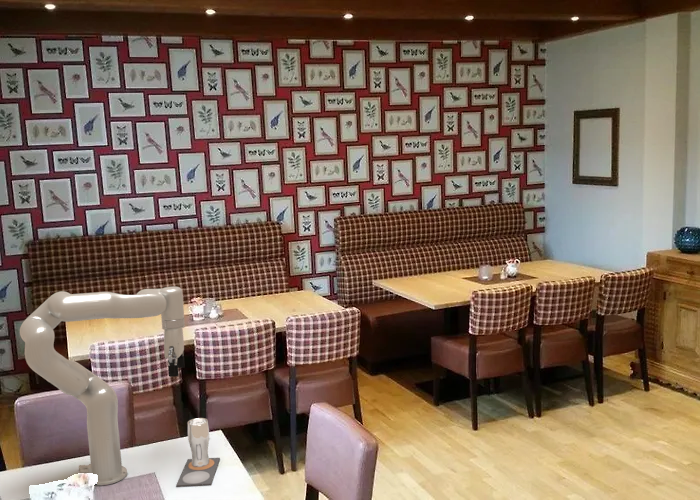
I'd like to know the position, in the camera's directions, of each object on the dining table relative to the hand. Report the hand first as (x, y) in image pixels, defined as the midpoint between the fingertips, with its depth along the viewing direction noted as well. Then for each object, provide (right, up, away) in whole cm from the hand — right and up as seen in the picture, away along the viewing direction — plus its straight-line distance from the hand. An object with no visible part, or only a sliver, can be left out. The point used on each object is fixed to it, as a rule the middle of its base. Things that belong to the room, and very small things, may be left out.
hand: (176, 371), depth 244 cm
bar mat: (+10, -32, -9) cm, 34 cm away
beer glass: (+9, -30, -5) cm, 32 cm away
